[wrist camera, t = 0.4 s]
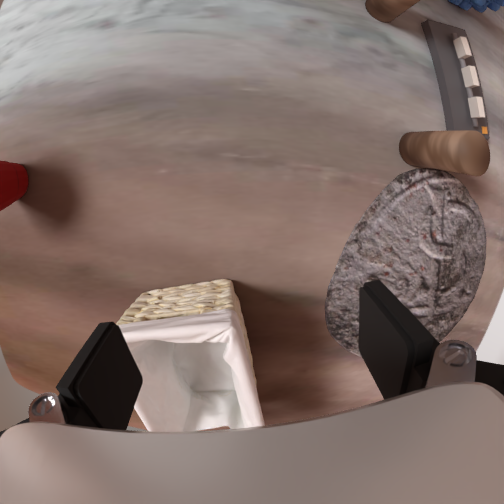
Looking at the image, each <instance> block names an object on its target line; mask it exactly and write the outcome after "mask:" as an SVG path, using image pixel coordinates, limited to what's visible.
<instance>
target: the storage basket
mask: <svg viewBox="0 0 504 504" xmlns="http://www.w3.org/2000/svg"><path fill="white" fill-rule="evenodd" d="M149 294H150V295H149ZM116 325H118V326H119V327H120V329H121V332H122V334H123V336H124V338H125V341H126V343H127V345H128V347H129V350H130V352H131V354H132V356H133V358H134V360H135V362H136V364H137V366H138V368H139V370H140V372H141V375H142V378H143V383H142V386H141V389H140V392H139V395H138V397H137V400H136V403H135V406H134V408H135V410H136V412H137V413H138V415H139V416H140V418H141V420H142V421H143V423H144V425H145V426H146V428H147V429H148V431H152V432H190V431H198V430H205V429H211V428H217V427H222V426H229V428H230V429H239V428H249V427H257V426H265V424H264V419H263V415H262V411H261V407H260V403H259V399H258V393H257V389H256V383H257V380H256V378H255V373H254V369H253V359H252V355H251V351H250V345H249V340H248V337H247V331H246V327H245V324H244V319H243V315H242V313H241V307H240V301H239V299H238V297H237V295H236V294H235V292H234V286H233V283H232V281H231V280H228V279H219V280H213V281H211V282H201V283H197V284H187V285H182V286H178V287H169V288H165V289H155V290H152V291H149V292H145V293H142V294H141V295H140V296H139V297H138V298H137V299H136V301H135V302H134V303H132V304H131V306H130V308H129V309H127V310H126V311H125V312H124V314H123V316H122V317H121V318H120V320H119V321H118V322H117V324H116Z"/></svg>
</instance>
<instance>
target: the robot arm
mask: <svg viewBox="0 0 504 504" xmlns="http://www.w3.org/2000/svg"><path fill="white" fill-rule="evenodd" d="M358 347H359V351H360V354H361V356H362V358H363V359H364V361H365V363H366V365H367V367H368V369H369V371H370V373H371V375H372V376H373V378H374V380H375V382H376V384H377V386H378V388H379V390H380V392H381V394H382V396H383V398H384V400H382V401H378V402H375V403H371V404H368V405H364V406H361V407H357V408H353V409H349V410H345V411H340V412H336V413H332V414H328V415H323V416H318V417H313V418H308V419H303V420H298V421H292V422H286V423H279V424H273V425H265V426H257V427H249V428H239V429H228V430H213V431H190V432H152V431H128V430H126V429H127V426H128V423H129V420H130V417H131V414H132V411H133V409H134V406H135V403H136V400H137V397H138V395H139V392H140V389H141V386H142V383H143V378H142V375H141V372H140V370H139V368H138V366H137V364H136V362H135V360H134V358H133V356H132V354H131V352H130V350H129V347H128V345H127V343H126V341H125V338H124V336H123V334H122V332H121V329H120V327H119V326H118V325H116V324H115V323H114V322H105V323H100V324H99V325H98V326H97V327H96V329H95V330H94V332H93V333H92V334H91V336H90V337H89V339H88V340H87V341H86V343H85V344H84V346H83V347H82V349H81V350H80V351H79V353H78V354H77V356H76V357H75V359H74V360H73V362H72V363H71V365H70V366H69V368H68V369H67V371H66V372H65V374H64V375H63V377H62V378H61V380H60V381H59V383H58V385H57V386H56V388H57V390H58V391H59V393H60V394H59V396H57V395H56V394H54V393H51V392H48V393H43V394H41V395H39V396H38V397H36V398H35V399H34V400H33V401H32V402H31V404H30V406H29V410H28V414H29V418H28V419H26V420H24V421H22V422H20V423H18V424H16V425H14V426H12V427H10V428H8V429H6V430H4V431H1V432H0V504H504V365H500V364H494V363H489V362H483V361H477V360H476V352H475V350H474V348H473V347H472V346H471V345H469V344H468V343H466V342H464V341H460V340H449V341H445V342H443V343H441V344H440V343H439V342H438V341H437V340H436V339H435V338H434V337H433V335H432V334H431V333H430V332H429V331H428V330H427V329H426V328H425V327H424V325H423V324H422V323H421V322H420V321H419V320H418V319H417V318H416V317H415V316H414V315H413V314H412V312H411V311H410V310H409V309H407V308H406V307H405V306H404V305H403V304H402V303H401V301H400V300H399V299H398V298H397V297H396V296H395V295H394V294H393V293H392V292H391V291H390V290H389V289H388V288H387V287H386V286H385V285H384V284H383V283H382V282H381V281H380V280H374V281H369V282H365V283H364V285H363V287H360V290H359V340H358Z"/></svg>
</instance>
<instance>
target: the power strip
mask: <svg viewBox="0 0 504 504" xmlns="http://www.w3.org/2000/svg"><path fill="white" fill-rule="evenodd" d="M421 24H422V27H423V30H424V33H425V36H426V39H427V43H428V46H429V49H430V53H431V56H432V60H433V64H434V67H435V71H436V75H437V80H438V84H439V89H440V93H441V99H442V104H443V109H444V115H445V122H446V128H447V131H461V130H471V131H478V132H480V133H481V134H482V135H483V136H484V137H485V139H489V131H488V123H487V116H486V110H485V104H484V99H483V94H482V89H481V84H480V80H479V76H478V72H477V68H476V64H475V60H474V57H473V53H472V50H471V47H470V44H469V40H468V37H467V34H466V32H465V30H463V29H460V28H457V27H453V26H450V25H446V24H443V23H439V22H435V21H431V20H426V21H424V22H423V23H421ZM451 33H457V36H458V38H459V37H460V36H461V37H466V38H467V41H468V44H469V48H470V51H471V54H472V56H470V57H468V58H466V59H465V63H466V66H469V65H470V66H475V69H476V73H477V77H478V81H479V85H480V86H477V87H473V88H472V92H473V97H476V96H477V97H482V100H483V106H484V112H485V117H484V118H477V121H478V127H475V126H473V124H472V118H471V115H470V108H469V103H468V94H467V90H466V87H465V83H464V79H463V75H462V71H461V64H460V61H459V58H458V56H457V52H456V49H455V46H454V42H453V37H452V34H451Z"/></svg>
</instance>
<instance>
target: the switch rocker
mask: <svg viewBox="0 0 504 504" xmlns="http://www.w3.org/2000/svg"><path fill="white" fill-rule="evenodd" d="M451 34H452V37H453V42H454V46H455V49H456V52H457V56H458V58H459V61H460V64H461V71H462V75H463V79H464V83H465V87H466V90H467V94H468V103H469V108H470V115H471V118H472V124H473V126H475V127H478V121H477V118H484V117H485V112H484V106H483V100H482V97H477V96H476V97H473V92H472V88H473V87H477V86H480V85H479V81H478V77H477V73H476V69H475V66H470V65H469V66H466V63H465V59H466V58H468V57H470V56H472V54H471V51H470V48H469V44H468V41H467V38H466V37H461V36H460V37H459V38H458V36H457V33H451Z"/></svg>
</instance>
